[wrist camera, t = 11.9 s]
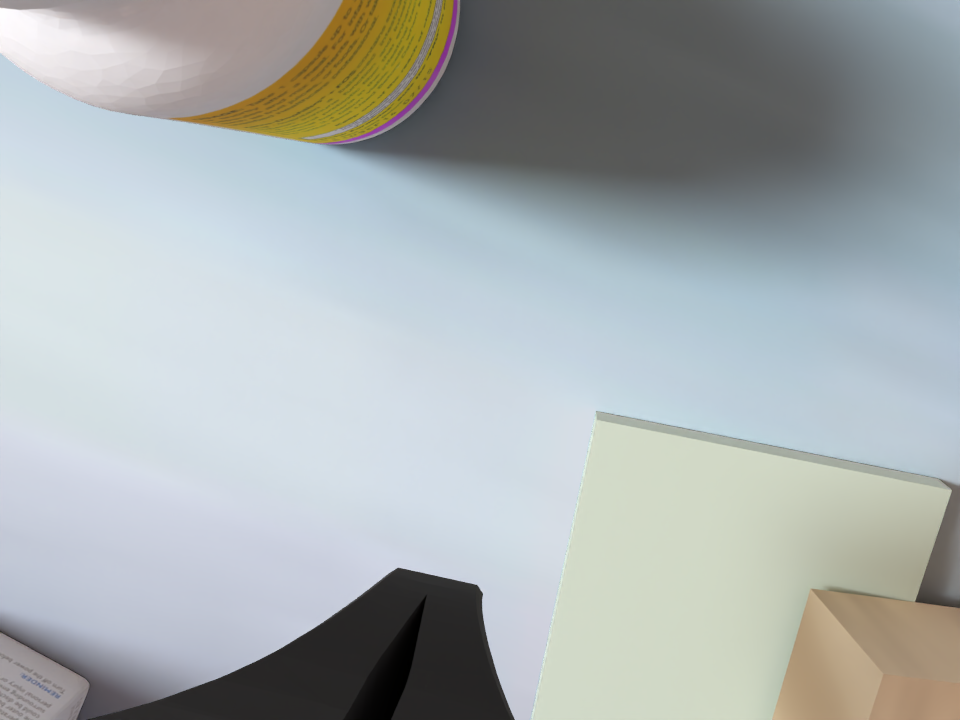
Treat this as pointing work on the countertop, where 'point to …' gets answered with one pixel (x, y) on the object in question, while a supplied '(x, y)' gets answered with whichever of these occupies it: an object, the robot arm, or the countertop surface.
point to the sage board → (715, 568)
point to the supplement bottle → (240, 60)
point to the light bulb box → (37, 685)
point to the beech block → (872, 661)
